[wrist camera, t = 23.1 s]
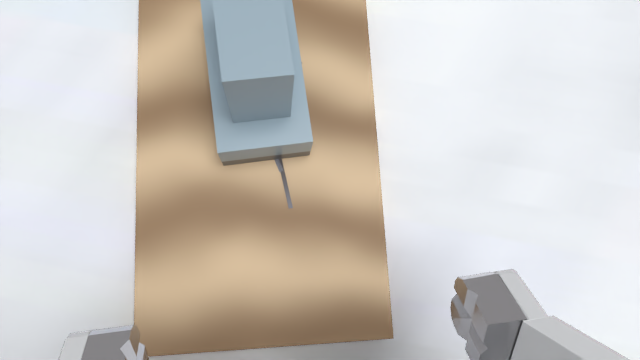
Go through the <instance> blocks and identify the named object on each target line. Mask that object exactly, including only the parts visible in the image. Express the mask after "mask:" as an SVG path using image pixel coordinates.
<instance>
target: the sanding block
mask: <svg viewBox="0 0 640 360" xmlns="http://www.w3.org/2000/svg"><path fill="white" fill-rule="evenodd" d="M200 3H201V12H202V21H203V29H204V38H205V47H206V56H207V65H208V74H209V83H210V92H211V101H212V110H213V118H214V127H215V136H216V145H217V153H218V155H219V157H220V159H221V161H222V163H223V165H224V166H226V165H234V164H242V163H250V162H258V161H266V160H275V159H283V158H291V157H299V156H307V155H310V151H311V148H312V144H313V137H312V130H311V123H310V117H309V110H308V103H307V97H306V90H305V83H304V77H303V70H302V63H301V57H300V50H299V43H298V36H297V30H296V23H295V16H294V10H293V3H292V0H200Z"/></svg>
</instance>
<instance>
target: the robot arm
mask: <svg viewBox="0 0 640 360" xmlns="http://www.w3.org/2000/svg"><path fill="white" fill-rule="evenodd" d="M454 289H455V291H456V292H457V294H456V295H455V296H454V297H453V299H452V301H451V316H452V320H453V324H454V327H455V329H456V331H457V333H458V335H460V336H461V337H462V338H464V339H465V340H467V343H466V347H465V350H466V352H467V354H468V356H469V358H470V360H629V359H628V358H626V357H624V356H622V355H621V354H619V353H617V352H615V351H614V350H612V349H610V348H609V347H607V346H605V345H603V344H602V343H600V342H598V341H596V340H595V339H593V338H591V337H590V336H588V335H586V334H584V333H583V332H581V331H579V330H577V329H576V328H574V327H572V326H571V325H569V324H567V323H565V322H564V321H562V320H560V319H558V318H557V317H555V316H548V315H547V314H546V312H545V311H544V310H543V308H542V307H541V305H540V304H539V303H538V301H537V300H536V298H535V297H534V295H533V294H532V293H531V291H530V290H529V288H528V287H527V286H526V284H525V283H524V281H523V280H522V278H521V277H520V276H519V274H518V273H517V272H516V271H515V270H513V269H509V270H503V271H496V272H487V273H481V274H475V275H469V276H462V277H458V278H457V279H456V280H455V285H454ZM139 340H140V332H139V329H138V327H137V325H131V326H123V327H115V328H107V329H98V330H91V331H84V332H76V333H70V334H69V335H68V337H67V338H66V339H65V342H64V345H63V348H62V351H61V354H60V357H59V360H149V358H148V353H147V350H146V347H145V345H143V344H141V343H139Z"/></svg>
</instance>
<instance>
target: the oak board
mask: <svg viewBox="0 0 640 360" xmlns="http://www.w3.org/2000/svg"><path fill="white" fill-rule="evenodd" d="M292 3H293V10H294V16H295V23H296V30H297V36H298V43H299V50H300V57H301V63H302V70H303V77H304V83H305V90H306V97H307V103H308V110H309V117H310V123H311V130H312V137H313V144H312V148H311V151H310V155H307V156H299V157H291V158H283V159H275V160H266V161H258V162H250V163H242V164H234V165H226V166H224V165H223V163H222V161H221V159H220V157H219V155H218V153H217V145H216V136H215V127H214V118H213V110H212V101H211V92H210V83H209V74H208V65H207V56H206V47H205V38H204V29H203V21H202V12H201V3H200V0H139V28H138V97H137V167H136V236H135V305H134V325H137V327H138V329H139V332H140V340H139V343H141V344H143V345H145V347H146V350H147V353H148V356H160V355H174V354H187V353H201V352H215V351H228V350H242V349H256V348H269V347H283V346H296V345H310V344H324V343H337V342H351V341H364V340H378V339H392V338H393V327H392V315H391V303H390V291H389V278H388V266H387V254H386V242H385V230H384V217H383V205H382V193H381V181H380V169H379V156H378V144H377V132H376V120H375V108H374V95H373V83H372V71H371V59H370V47H369V34H368V22H367V10H366V0H292Z"/></svg>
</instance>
